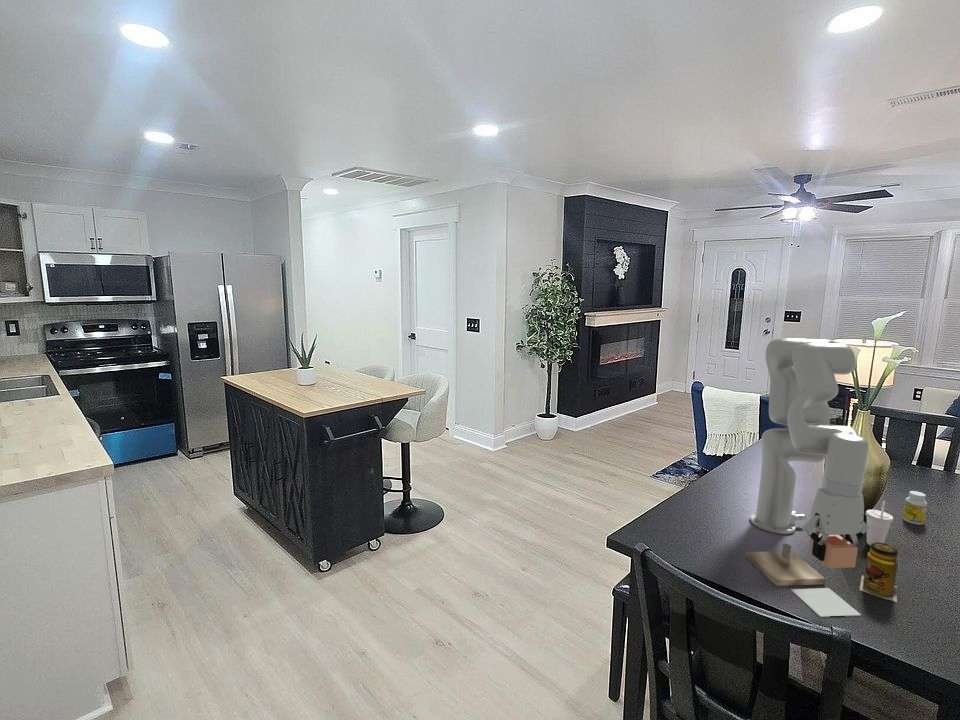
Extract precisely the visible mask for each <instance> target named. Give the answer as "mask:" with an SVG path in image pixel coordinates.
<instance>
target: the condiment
mask: <svg viewBox="0 0 960 720" xmlns="http://www.w3.org/2000/svg"><path fill="white" fill-rule="evenodd" d="M898 554H899V553H898V549H897V548H895V547H894V546H892V545H890V544H887V543H886V542H884V543H881V542H874V543H872V544H871V546H870V548H869V551H868V552H867V554H866V556H867V557H866V562H865V563H866V564H865V567H864V575H861V576H860V577H861V579H860V585H859V592H860V591H861V592H864V593H866V594H869V595H872V596H875V597H878V598H882V599H885V600H889V601H892V602H895V603H898V585H895V584H896V579H897V573H898V566H899V561H898Z"/></svg>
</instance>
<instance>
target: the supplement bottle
mask: <svg viewBox="0 0 960 720" xmlns="http://www.w3.org/2000/svg"><path fill="white" fill-rule="evenodd" d="M926 498H927V497H926V494H925V493H923V492H921V491H915V490H909V493H908V496H907V497H906V498H905V500H904V506H903V513H902V519H903V521H905V522H907V523H908V524H909V523H910V524H913V525H919V526H920V525H924V524H925V522H926V521H925V520H926V514H927V508H928V502H927V501H926Z"/></svg>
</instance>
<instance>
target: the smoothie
mask: <svg viewBox="0 0 960 720" xmlns="http://www.w3.org/2000/svg"><path fill="white" fill-rule="evenodd" d="M885 506H886V501H885V500H882V503H881V510H879V509H867V510H866V511H865V516H866V524H867V525H868V526H869V530H868V531H866V543H867V545H869V546H870V547H871V544H872V543H874V542H881V543H885V542H886V539H887V535H888V532H889V529H890V527H891V525H892V523H893V522H894V516H893V515H891V514H890V513H888V512H887V511H886V512H885Z"/></svg>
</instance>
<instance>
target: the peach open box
mask: <svg viewBox="0 0 960 720" xmlns="http://www.w3.org/2000/svg"><path fill="white" fill-rule="evenodd" d="M821 535H822V533H820V535H819V537H821ZM813 541H814V540H812V539H811V538H810V543H809V551H808V554H810V555H811V556H813V557H814V558H815V559H816V560H818V562H820V563H821V564H823V565H824V566H825V567H827V568H828V569H838V568H839V569H842V568H844V569H846V568H848V569H849V568H856V565H857V564H856V562H857V557H858V556H857V555H858V549H859V547H857V546H856V545H853V544H852V543H850V542H849V541H847V540H846V539H844V537H843V536H842V535H829V536H828V538H827V539H826V541H825V543H824V545H825V546H826V549H825V556H824V561H820V560H819V559H817V558H816V557H815V556H814V555H812V548H813Z"/></svg>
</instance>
